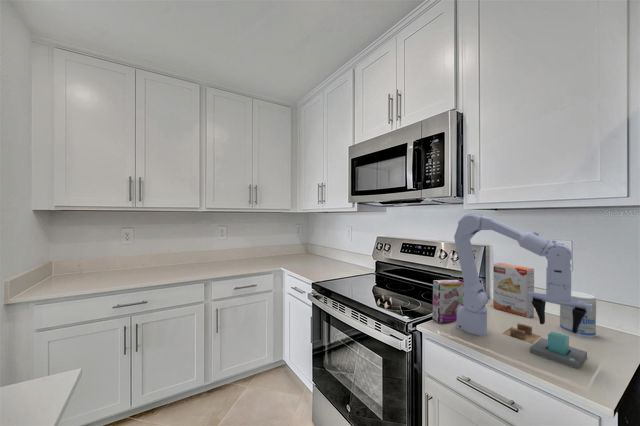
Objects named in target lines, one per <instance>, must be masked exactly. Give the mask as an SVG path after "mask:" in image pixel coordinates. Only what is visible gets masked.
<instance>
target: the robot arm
mask: <svg viewBox="0 0 640 426" xmlns="http://www.w3.org/2000/svg"><path fill="white" fill-rule="evenodd" d="M457 224H458V225H457V228H456V230H455V233H454V235H453V238H454V243H455V248H456V253H457V257H458V260H459V267H460V270H461V275H462V279H463V280H462V281H463V282H464V288H463V293H464V296H463V305H464V306H460V307H459V308H458V310H457V320H456V329H458V330H461V331H465V332H466V333H469V334H470V335H473V336H479V337H480V336H481V337H483V336H486V335H488V309H487V307H486V305H487V304H488V303H489V295H488V294H487V292H486V291H485V289H484V286H483V284H482V283H481V281H480V276H479V272H478V269H477V264H476V260H475V255H474V250H473V247H472V242H471V240H472V239H473V237H474V236H475V235H476V234H477V233H478V232H480V231H494V232H496V233H498V234H501V235H502V236H506V237H508V238H509V239H512V240H515V241H517V243H518V245H519V247H521V248H523V249H525V250H527V251H530V252H532V254H535V255H537V256H540V257H545V259H546V260H547V265H546V273H545V274H546V279H545V280H546V285H545V287H546V289H545V290H546V291H545V293H541V292H540V293H539V292H535V291H534V292H529V299H533V301H532V305H533V306H534V311H535V312H536V314H537V316H538V319H539V324H540V325H544V324H545V323H546V314H545V313H546V303H551V304H554V305H558V306H560V305H563V306H568V307H572V308H575V309H573V310H572V314H573V329H572V331H573V333H575V334H576V333H577V332H578V327H579V324H580V322H581V320H582V318H583V317H584V315H585V314H586V312H587V311H588V312H591V311H592V304H589V303H585V302H581V301H578V300H574V299H571V291H572V269H571V267H572V264H571V260H572V256H573V253H572V250H571V249H570V247H568V246H567V245H565V244H564V243H559V242H558V243H557V240H554V239H552V240H551V239H548V238H547V237H543V235H542V236H541V235H540V232H537V231H526V232H522V231H520V230H519V229H516V228H514V227H512V226H511V225H508V224H507V223H506V224H505V223H503V222H501V221H499V220H498V219H495V218H492V217H489V216H487V215H483V214H480V213H474V214H473V213H468V214H467V213H466V214H465V215H463V217H461V218H460V219H459V220H458V221H457Z"/></svg>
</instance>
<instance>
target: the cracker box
mask: <svg viewBox="0 0 640 426" xmlns="http://www.w3.org/2000/svg"><path fill="white" fill-rule="evenodd" d="M492 269H493V273H492V274H493V282H492V283H493V284H492V285H493V287H492V289H493V294H492V295H493V296H492V297H493V298H492V299H493V300H492V301H493V302H492V304H493V305H492V306H493V309H496V310H499V311H502V312H505V313H508V314H512V315H515V316H517V317H518V316H519V317H523V318H526V319H530V318H534V316H535V308H534V306H533V305H532V301H533V299H529V292H535V268H531V267H527V266H520V265H516V264H510V263H505V262H496V263H493V268H492Z"/></svg>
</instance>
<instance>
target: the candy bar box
mask: <svg viewBox="0 0 640 426" xmlns="http://www.w3.org/2000/svg"><path fill="white" fill-rule="evenodd" d="M463 288H464V281H461V280H459V279H438V280H437V279H436V280H435V279H434V280H432V320H433V321H435V322H436V323H437V324H449V323H455V322H457V310H458V308H459V307H460V306H464V305H463V296H464V293H463Z"/></svg>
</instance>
